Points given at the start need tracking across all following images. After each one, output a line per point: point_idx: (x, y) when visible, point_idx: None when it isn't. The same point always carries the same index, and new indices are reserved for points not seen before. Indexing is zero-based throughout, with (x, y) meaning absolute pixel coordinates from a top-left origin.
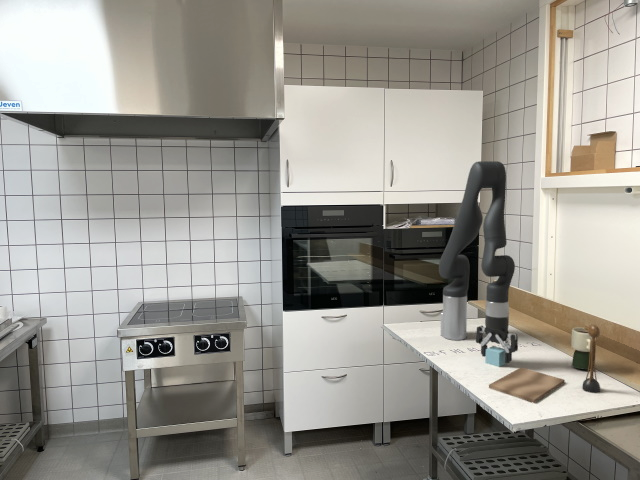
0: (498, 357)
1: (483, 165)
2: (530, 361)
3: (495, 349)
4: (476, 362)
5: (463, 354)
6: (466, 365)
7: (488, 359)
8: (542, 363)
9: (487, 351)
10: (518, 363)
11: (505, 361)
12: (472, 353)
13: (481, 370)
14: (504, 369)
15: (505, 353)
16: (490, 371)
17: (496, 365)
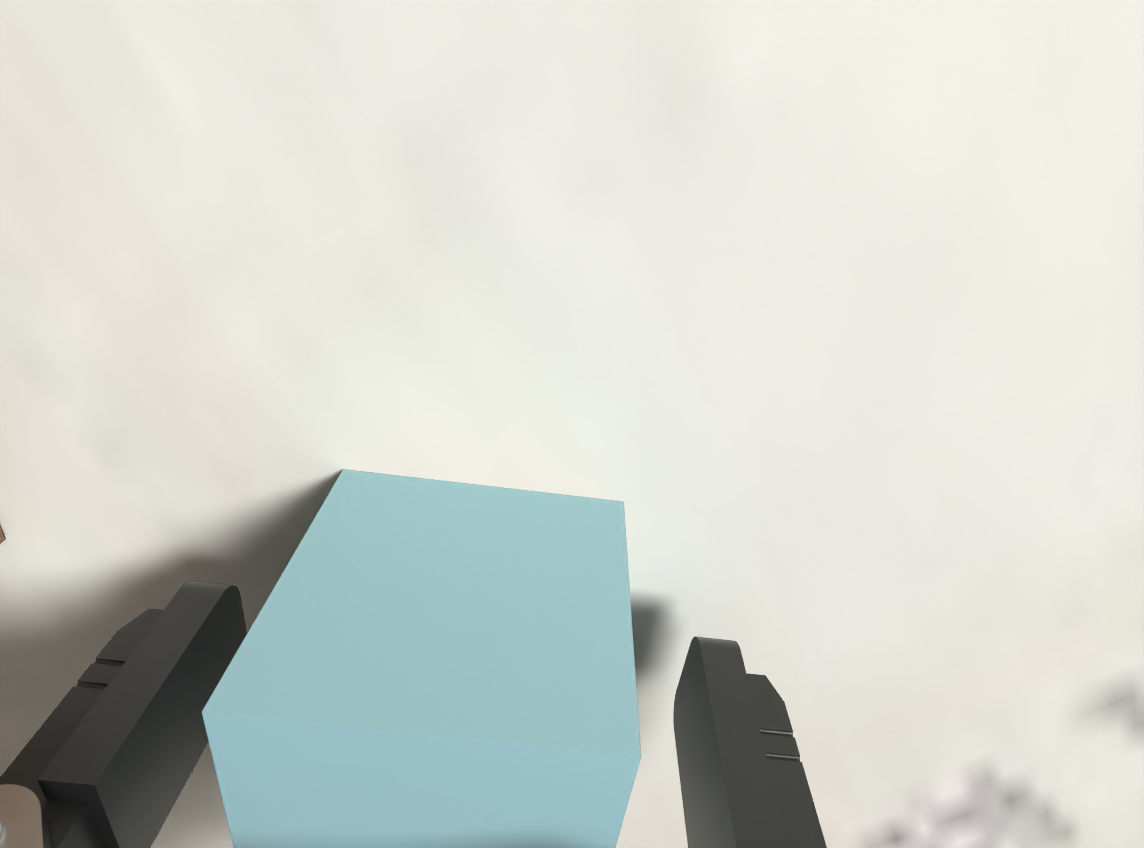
0: (278, 606)
1: None
2: (177, 831)
3: (428, 841)
4: (781, 435)
5: (1100, 632)
6: (946, 132)
7: (557, 553)
8: None
9: (583, 706)
10: None
11: (206, 598)
12: (952, 725)
13: (507, 45)
14: (199, 420)
15: (98, 761)
16: (316, 133)
17: (389, 484)
